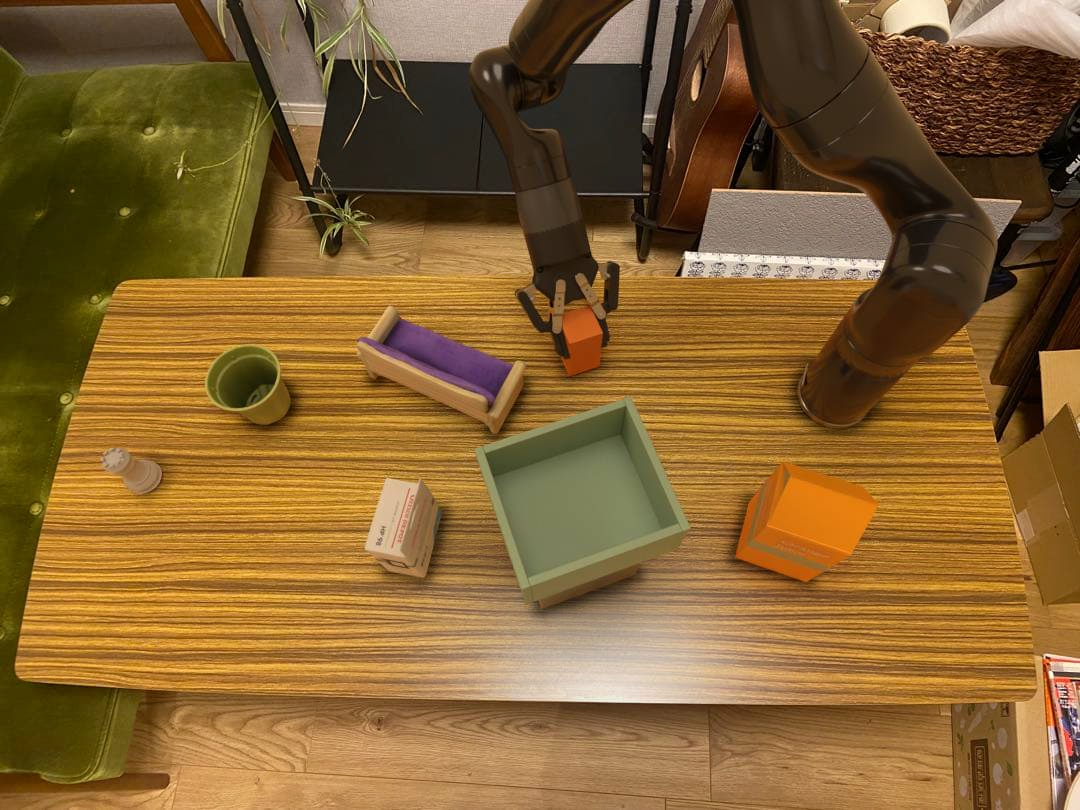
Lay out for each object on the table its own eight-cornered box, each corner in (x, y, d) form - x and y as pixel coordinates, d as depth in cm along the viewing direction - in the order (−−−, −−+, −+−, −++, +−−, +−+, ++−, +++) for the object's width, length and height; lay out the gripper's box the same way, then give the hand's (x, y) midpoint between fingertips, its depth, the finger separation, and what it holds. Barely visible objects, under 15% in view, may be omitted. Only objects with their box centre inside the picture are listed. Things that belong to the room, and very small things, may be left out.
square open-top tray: (624, 428, 74) (630, 395, 67) (677, 549, 68) (691, 528, 61) (482, 476, 72) (473, 448, 65) (525, 604, 66) (521, 589, 59)
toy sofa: (529, 385, 96) (526, 348, 87) (500, 438, 93) (494, 406, 84) (398, 329, 101) (382, 288, 91) (366, 378, 97) (346, 340, 88)
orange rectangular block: (587, 339, 98) (590, 304, 90) (599, 366, 96) (603, 333, 88) (557, 349, 98) (557, 315, 90) (568, 376, 96) (569, 343, 88)
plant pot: (283, 445, 93) (258, 419, 85) (221, 425, 95) (190, 398, 87) (314, 385, 97) (293, 355, 89) (254, 367, 98) (228, 335, 91)
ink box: (406, 505, 89) (379, 465, 76) (443, 512, 89) (423, 474, 76) (386, 571, 86) (355, 542, 73) (425, 579, 86) (400, 551, 72)
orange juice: (806, 583, 84) (874, 542, 66) (733, 558, 86) (780, 511, 68) (819, 523, 87) (887, 468, 69) (748, 500, 89) (797, 440, 71)
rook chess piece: (122, 479, 92) (85, 458, 85) (151, 456, 93) (116, 432, 86) (141, 502, 91) (105, 482, 83) (170, 477, 92) (137, 456, 85)
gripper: (501, 241, 81) (539, 376, 87) (616, 206, 83) (645, 341, 89) (491, 236, 88) (527, 361, 94) (598, 204, 90) (626, 329, 96)
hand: (584, 351), depth 92 cm, fingers closed on orange rectangular block, 4 cm apart
